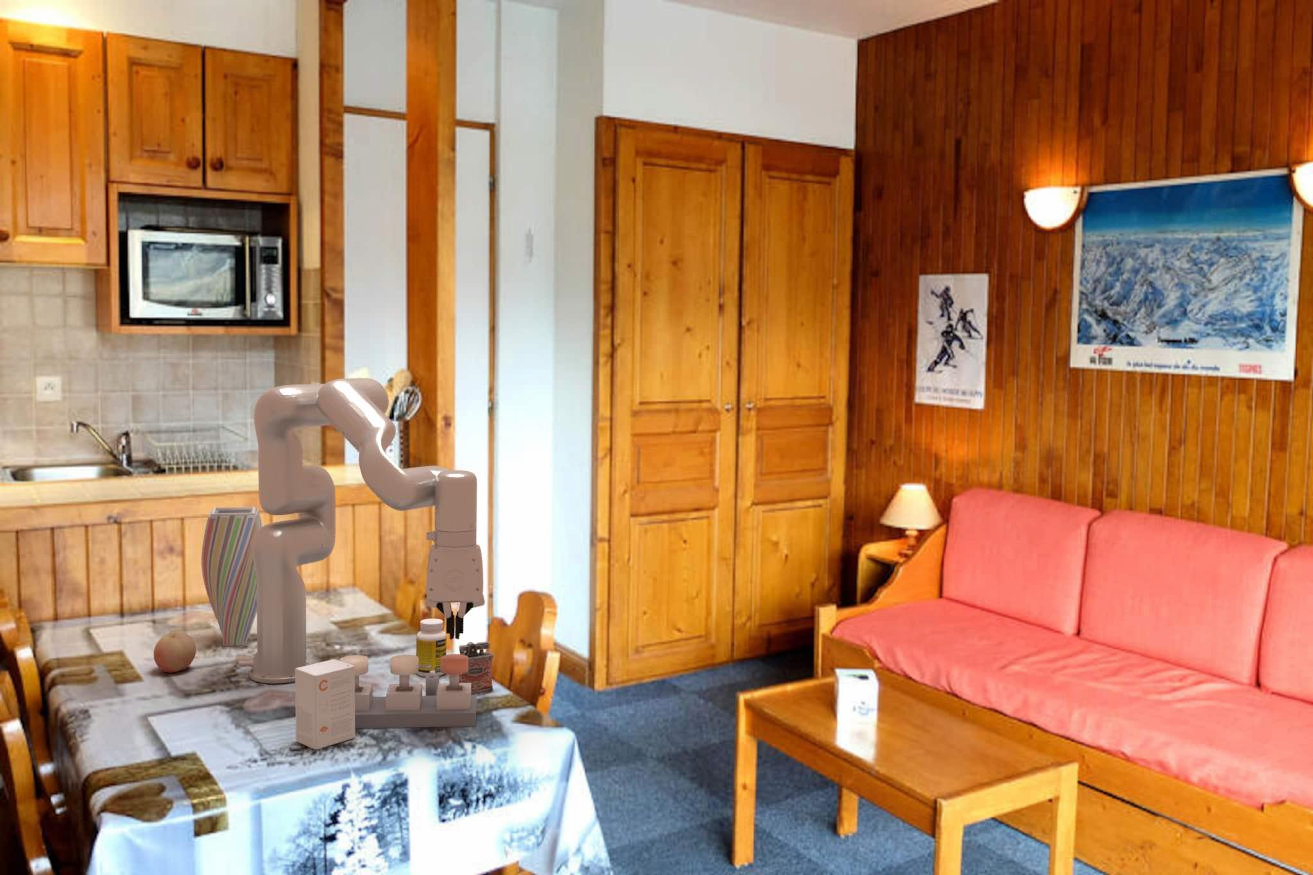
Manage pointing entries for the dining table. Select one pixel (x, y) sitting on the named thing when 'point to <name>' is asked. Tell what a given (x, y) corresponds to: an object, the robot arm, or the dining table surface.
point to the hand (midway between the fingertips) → (454, 637)
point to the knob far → (454, 667)
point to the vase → (231, 570)
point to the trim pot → (431, 684)
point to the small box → (325, 703)
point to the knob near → (357, 665)
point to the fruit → (174, 651)
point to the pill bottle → (430, 647)
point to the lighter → (477, 667)
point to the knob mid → (404, 668)
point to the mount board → (415, 707)
